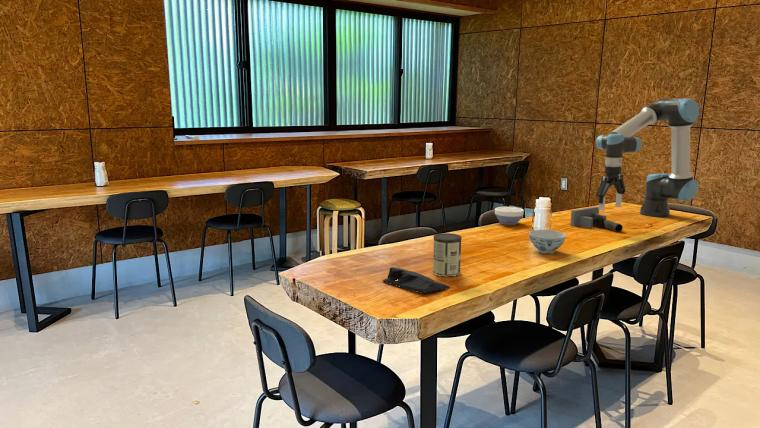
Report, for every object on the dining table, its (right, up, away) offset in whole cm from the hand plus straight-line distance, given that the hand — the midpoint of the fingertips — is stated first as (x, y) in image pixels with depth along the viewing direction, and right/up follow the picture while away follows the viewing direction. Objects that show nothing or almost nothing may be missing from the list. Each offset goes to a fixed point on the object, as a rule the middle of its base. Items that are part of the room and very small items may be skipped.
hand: (609, 208), depth 273 cm
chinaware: (-43, -19, -39) cm, 61 cm away
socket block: (-6, -8, +10) cm, 15 cm away
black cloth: (-102, -28, -81) cm, 133 cm away
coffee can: (-90, -25, -68) cm, 115 cm away
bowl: (-47, -8, +13) cm, 50 cm away
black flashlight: (-1, -10, +4) cm, 11 cm away
